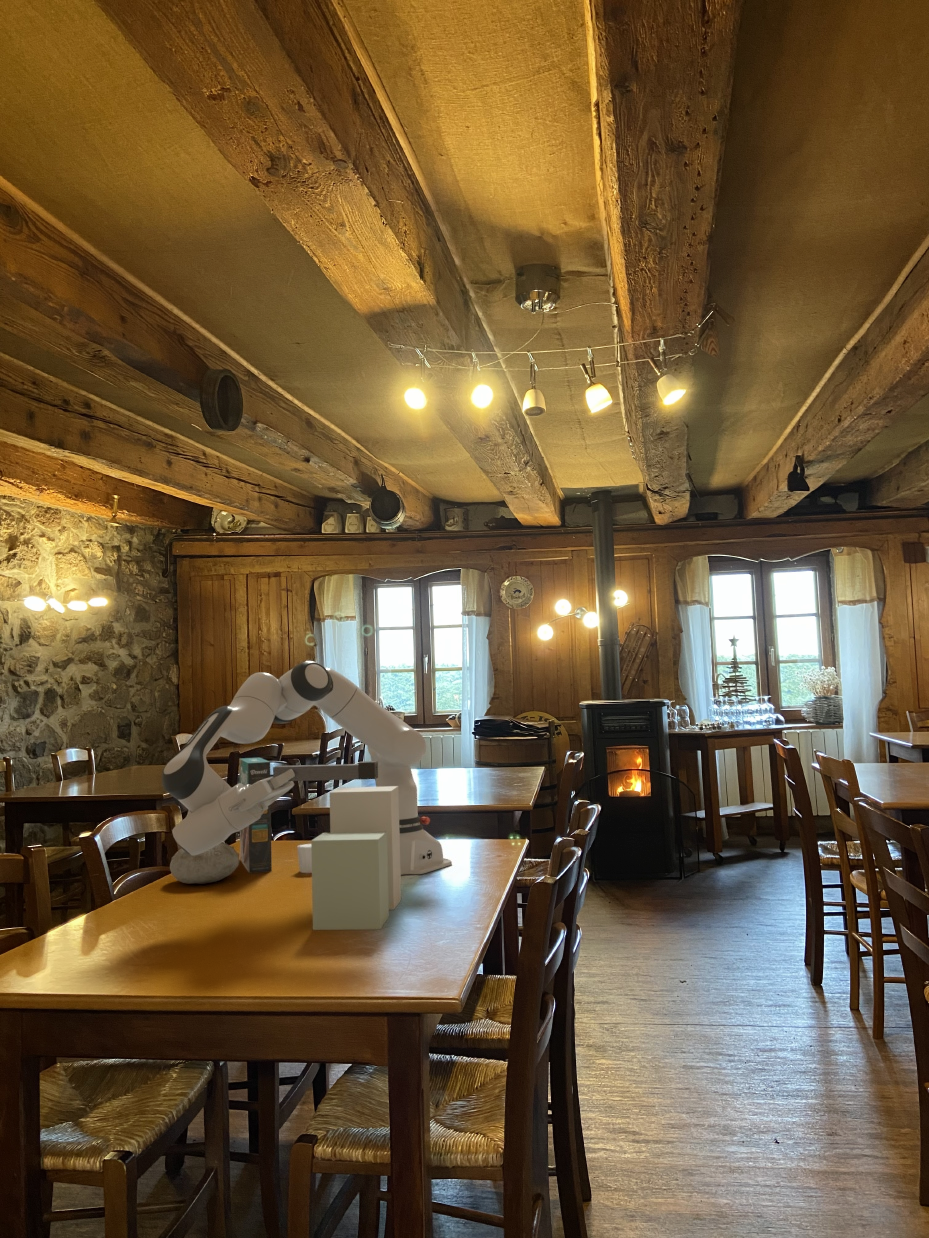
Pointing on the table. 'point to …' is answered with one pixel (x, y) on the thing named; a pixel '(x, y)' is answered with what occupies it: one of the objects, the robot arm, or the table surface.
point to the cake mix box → (258, 833)
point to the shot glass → (305, 858)
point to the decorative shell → (205, 865)
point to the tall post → (371, 823)
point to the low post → (350, 881)
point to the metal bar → (331, 771)
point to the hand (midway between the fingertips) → (297, 770)
